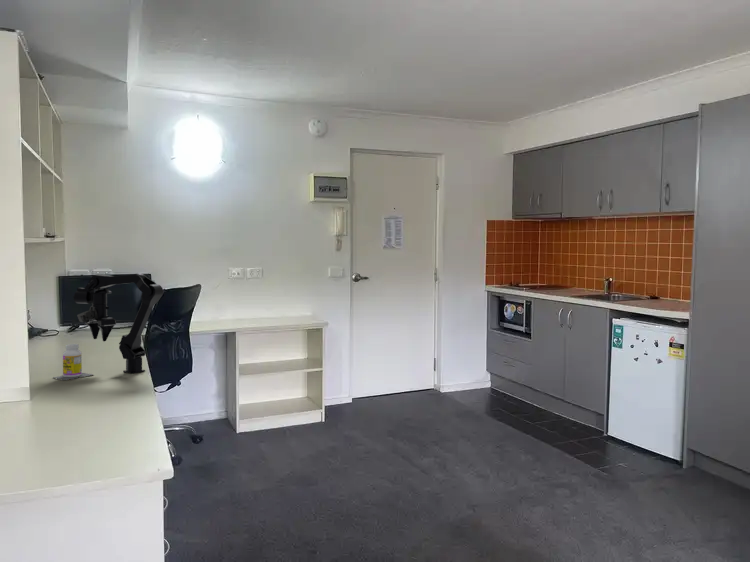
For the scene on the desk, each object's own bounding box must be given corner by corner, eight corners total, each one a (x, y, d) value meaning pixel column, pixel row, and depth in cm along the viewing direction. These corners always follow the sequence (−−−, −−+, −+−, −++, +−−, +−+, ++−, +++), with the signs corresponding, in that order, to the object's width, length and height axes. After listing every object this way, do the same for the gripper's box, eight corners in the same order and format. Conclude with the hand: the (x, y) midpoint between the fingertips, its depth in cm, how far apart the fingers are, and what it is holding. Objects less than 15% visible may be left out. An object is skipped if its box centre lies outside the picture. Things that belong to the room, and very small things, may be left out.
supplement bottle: (59, 376, 225) (59, 345, 224) (74, 373, 231) (74, 343, 230) (69, 378, 222) (69, 346, 221) (85, 375, 227) (85, 344, 227)
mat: (93, 375, 230) (93, 374, 230) (64, 380, 219) (64, 379, 219) (81, 373, 234) (81, 372, 234) (53, 378, 223) (53, 377, 223)
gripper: (70, 303, 240) (71, 339, 240) (89, 306, 228) (89, 344, 228) (97, 302, 248) (97, 337, 249) (116, 305, 236) (116, 341, 236)
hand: (99, 340), depth 240 cm, fingers open, 9 cm apart
